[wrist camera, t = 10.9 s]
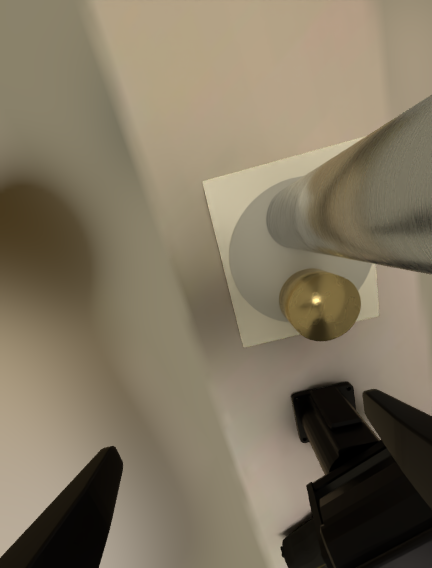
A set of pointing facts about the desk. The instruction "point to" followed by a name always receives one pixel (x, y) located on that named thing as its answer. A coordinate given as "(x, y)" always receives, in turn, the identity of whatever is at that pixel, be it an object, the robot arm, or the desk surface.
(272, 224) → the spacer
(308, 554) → the tape measure
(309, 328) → the brass weight
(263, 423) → the desk surface
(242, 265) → the scale
